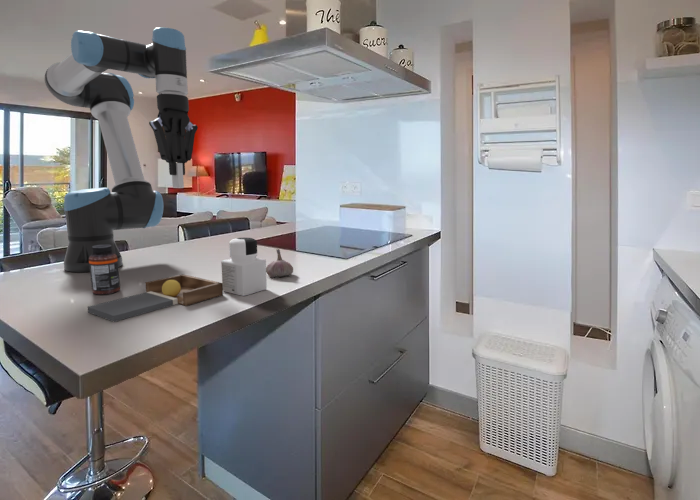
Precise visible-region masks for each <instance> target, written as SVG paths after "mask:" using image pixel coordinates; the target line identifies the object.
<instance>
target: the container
mask: <svg viewBox="0 0 700 500" xmlns="http://www.w3.org/2000/svg"><path fill="white" fill-rule="evenodd" d="M228 244H229V245H228V248H229V258H228V259H227V258H226V259H224V260H223V259H222V260H221V281H222V282H221V283H222V285H223V292H225V293H226V292H227V293H229V294H234V295H237V296H242V297H245V296H249V295H252V294H255V293H259V292H262V291H266V290H267V286H268V285H267V283H268V282H267V272H266V267H267V260H266V259H264V258H259V257H258V240H257V239H255V238H252V237H235V238H232V239H231V240H230V241H229V242H228Z"/></svg>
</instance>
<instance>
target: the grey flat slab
mask: <svg viewBox="0 0 700 500" xmlns="http://www.w3.org/2000/svg"><path fill="white" fill-rule="evenodd" d="M171 305H172V306H174V305H179V304H178V298H174V297H170V296H167V295H163V294H159V293H156V292H152V291H150V292H146V291H145V292H142V293H138V294H134V295H129V296H127V297H123V298H116V299H113V300H109V301H105V302H100V303H97V304H92V305H89V306H87V312H88V313H89V314H91V315H94V316H97V317H100V318H102V317H103V319H105V318H106V320H109V321H111V322H113V321H114V322H118V321H122V319H123V320H126V319H129V317H130V318H133V317H136V316H139V315H143V314H146V313H150V312H151V313H152V312H154V311H157V310H160V309H164V308H167V307H171ZM114 322H113V323H114Z"/></svg>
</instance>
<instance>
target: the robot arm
mask: <svg viewBox="0 0 700 500" xmlns="http://www.w3.org/2000/svg"><path fill="white" fill-rule="evenodd" d="M70 40H71V42H70V43H71V44H70V48H71V53H69V54H68V55H67V56H66V57H65V58H64V59H63V60H62V61H61V62H56V63H53V64H52V65H50V66H49V67H48V68H47V69H46V71H45V73H44V84H45V86H46V88H47V90H48V91H49V92H50V93H51V94H52V96H53V97H55V98H56V99H57V100H59V101H60V102H62V103H64V104H67V105H69V106H73V107H76V108H77V107H79V108H87V109H89V110H90V113H91V115H92V117H93V118H94V119H96V120H98V123H99V128H100V132H101V135H102V139H103V143H104V146H105V151H106V154H107V159H108V161H109V166H110V168H111V173H112V176H113V181H114V185H113V186H112V188H111V190H110V189H109V187H96V188H94V187H93V188H87V189H86V188H84V189H79V190H78V189H77V190H74V191H69V192H68V193H66V194H65V195H64V200H63V202H64V204H63V205H64V208H63V211H64V215H65V223H66V231H67V239H68V240H67V241H68V245H67V247H66V251H65V256H64V259H63V268H64V270H65V271H66V272H73V273H85V272H86V273H90V266H89V257H90V256H91V255H92V254H93V252H92V247H93V246H95V245H111V246H112V252H113V253H114V254H116V255H117V260H118V268H120V267H121V266H122V265H123V264H124V263H123V257H122V255H121V252H120V251H119V250H120V249H119V248H118V245H117V243H116V242H115V238H114V231H122V230H133V229H134V230H135V229H146V228H153V227H156V226H158V225H159V224H160V222H161V221H162V218H163V213H164V198H163V196H162V194H161V193H160V191H159V190H153V188H152V184H151V182H149V181H147V180H145V177H144V173H143V170H142V169H143V168H142V166H141V162H140V159H139V155H138V151H137V148H136V144H135V140H134V137H133V136H134V135H133V132H132V130H131V125H130V121H129V119H128V117H129V116H130V115H131V113H132V110H133V109H134V105H135V99H134V96H135V95H134V91H133V88H132V86H131V84H130V82H129V81H128V79H127V78H126V77H124V76H122V75H119V74H115V73H111V72H108V73H107V72H106V71H107V70H113V71H118V72H126V73H131V74H137V75H139V76H140V77H142V78H144V79H155V92H156V93H157V96H156V106H157V109H158V114H157V118H155V119H154V120H150V121H149V122H148V125H149V126H150V128H151V129H152V131H153V134H154V137H155V141H156V144H157V149H158V152H159V155H160V158H161V160H163V161H165V162H166V163H168V170H169V171H168V172H169V175H170V176H171V181H172V183H171V184H172V188H173V189H184V188H185V184H184V183H185V182H184V176H185V175H186V165H185V164H187V163H188V161H192V157H193V156H192V155H193V149H194V142H195V135H196V133H197V130H198V128H199V127H198V125H197V124H193V123H192V122H191V119H190V117H189V112H190V111H189V110H190V106H189V105H190V104H189V98H188V96H187V95H188V94H189V92H188V91H189V90H188V74H187V73H188V69H187V67H188V66H187V48H186V41H185V35H184V34H183V32H181V31H180V30H178V29H175V28H171V27H166V26H165V27H161V26H159V27H155V28H154V29H153V30H152V38H151V41H152V43H151V44H144V43H140V42H135V41H131V40H127V39H122V38H116V37H112V36H108V35H104V34H100V33H96V32H93V31H84V30H75V31H74V32H73V34H72V37H71V39H70Z"/></svg>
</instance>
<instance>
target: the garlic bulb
mask: <svg viewBox="0 0 700 500" xmlns="http://www.w3.org/2000/svg"><path fill="white" fill-rule="evenodd" d="M275 251H276V254H277V259H276V260H273V261H271V262H270V263H268V264H267V265H266V275H268V277H270V278H272V279H273V278H276V277H280V278H281V277H285V276H287V277H289V276H292V274H293V273H294V267H293V265H292V264H291V263H290V262H288V261H286V260H285V259H283V257H282V254H281V250H280V248H276V250H275Z"/></svg>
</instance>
